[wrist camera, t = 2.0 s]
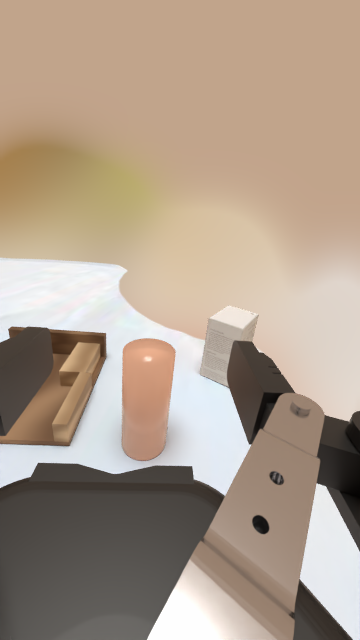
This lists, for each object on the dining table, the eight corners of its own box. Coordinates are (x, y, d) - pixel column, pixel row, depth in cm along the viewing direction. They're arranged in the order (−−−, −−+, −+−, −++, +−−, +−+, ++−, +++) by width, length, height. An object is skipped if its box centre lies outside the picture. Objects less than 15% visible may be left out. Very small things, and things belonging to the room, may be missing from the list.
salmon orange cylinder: (117, 460, 26) (118, 364, 21) (125, 423, 31) (127, 336, 26) (165, 461, 27) (176, 367, 22) (165, 424, 31) (174, 340, 26)
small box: (218, 355, 48) (228, 304, 44) (246, 366, 45) (259, 313, 41) (198, 374, 42) (207, 317, 37) (229, 389, 39) (243, 328, 35)
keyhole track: (-80, 440, 26) (-95, 406, 24) (16, 351, 42) (11, 326, 40) (69, 445, 27) (65, 413, 25) (106, 356, 44) (105, 333, 42)
